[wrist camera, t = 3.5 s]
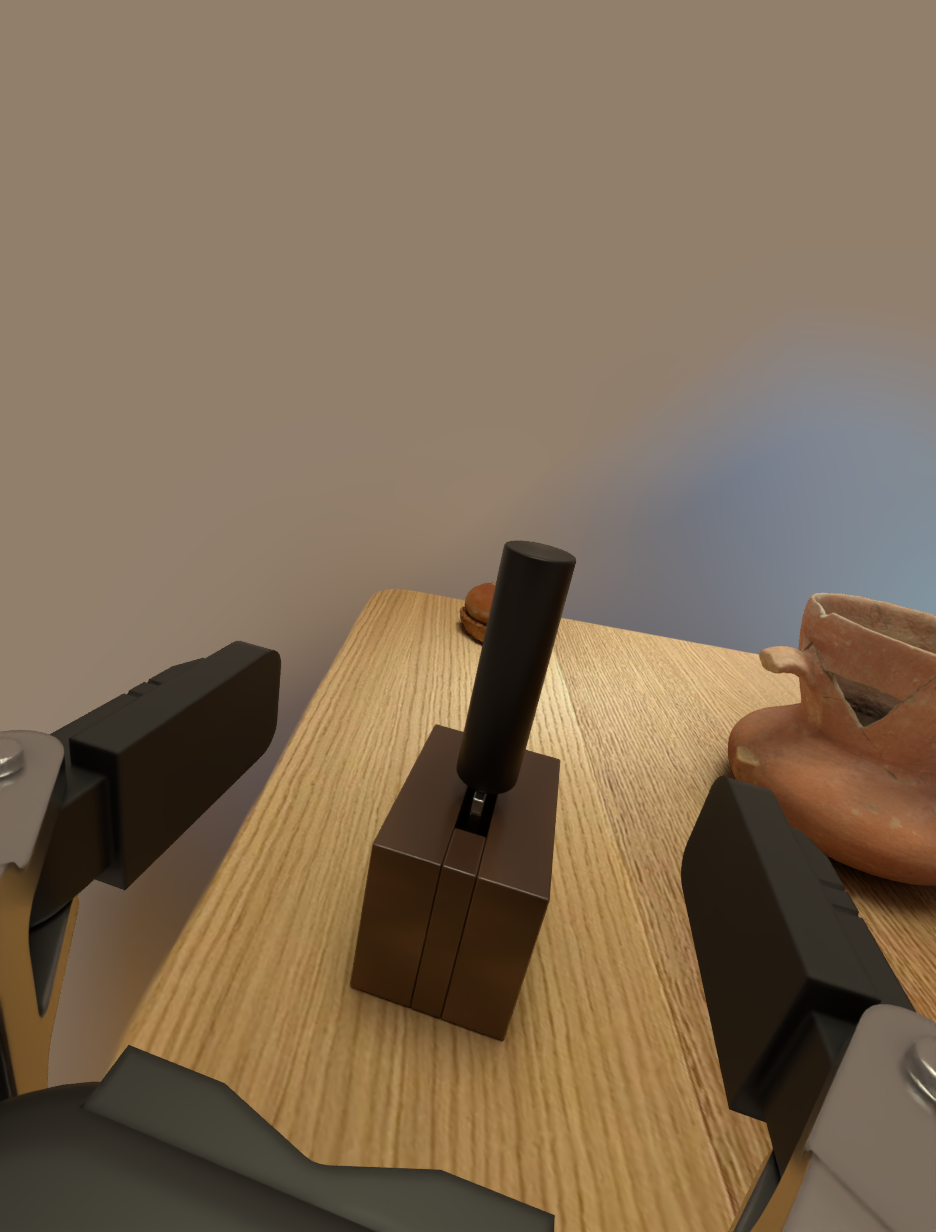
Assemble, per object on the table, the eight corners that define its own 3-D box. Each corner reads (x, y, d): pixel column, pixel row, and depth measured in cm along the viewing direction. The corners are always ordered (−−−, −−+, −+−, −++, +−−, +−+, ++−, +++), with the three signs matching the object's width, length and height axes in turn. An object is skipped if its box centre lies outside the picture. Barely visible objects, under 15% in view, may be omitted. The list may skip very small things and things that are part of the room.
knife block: (349, 987, 20) (371, 844, 18) (413, 838, 27) (435, 723, 25) (503, 1042, 19) (549, 901, 17) (526, 873, 27) (560, 759, 24)
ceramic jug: (753, 887, 29) (872, 651, 24) (670, 736, 42) (735, 566, 37) (1071, 945, 29) (1253, 726, 24) (887, 778, 43) (980, 615, 38)
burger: (499, 658, 50) (509, 612, 48) (440, 620, 56) (447, 578, 55) (565, 645, 56) (577, 604, 55) (506, 612, 63) (514, 574, 61)
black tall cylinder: (413, 945, 22) (497, 551, 16) (433, 885, 25) (511, 533, 19) (469, 964, 22) (575, 570, 16) (483, 901, 25) (577, 549, 19)
